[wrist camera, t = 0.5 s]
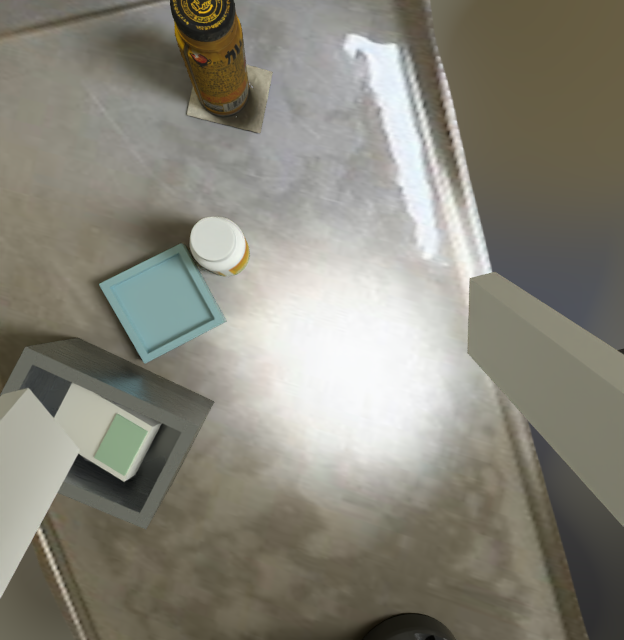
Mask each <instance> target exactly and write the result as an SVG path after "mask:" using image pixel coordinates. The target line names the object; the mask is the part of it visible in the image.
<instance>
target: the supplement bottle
mask: <svg viewBox="0 0 624 640" xmlns="http://www.w3.org/2000/svg"><path fill="white" fill-rule="evenodd" d="M190 250H191V253H192V255H193V257H194V258H195V260H196V261H197V262H198V263H199V264H200V265H201V266H202V267H204V268H206V269H208V270H210V271H212V272H213V273H215V274H218V275H221V276H233V275H236V274H238V273H240V272H241V271H242V270H243V269H244V268H245V267H246V266H247V264H248V261H249V257H250V250H249V246H248V243H247V241H246V239H245V237H244V235H243V233H242V231H241V230H240V228H239V227H238V226H237V225H236V224H235V223H234V222H232V221H231V220H229V219H227V218H224V217H206V218H203V219H201V220H200V221H198V222H197V223H196V224H195V225H194V227H193V229H192V231H191V235H190Z"/></svg>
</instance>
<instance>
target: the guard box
mask: <svg viewBox="0 0 624 640" xmlns="http://www.w3.org/2000/svg"><path fill="white" fill-rule="evenodd" d="M72 383H74V384H76V385H79V386H81V387H83V388H85V389H87V390H90V391H92V392H94V393H96V394H99V395H101V396H103V397H105V398H107V399H110V400H112V401H114V402H116V403H118V404H121V405H123V406H125V407H127V408H129V409H132V410H134V411H136V412H138V413H140V414H143V415H145V416H147V417H149V418H152V419H154V420H156V421H158V422H160V423H162V424H161V426H160V428H159V430H158V432H157V434H156V436H155V438H154V440H153V441H152V443H151V445H150V447H149V449H148V451H147V453H146V455H145V457H144V459H143V461H142V463H141V465H140V467H139V469H138V470H137V472H136V474H135V475H134V476H133V477H131V478H129V479H128V480H126V481H125V482H124V481H122V480H121V479H119V478H117V477H116V476H114V475H112V474H111V473H109V472H108V471H106V470H104V469H103V468H101V467H99V466H98V465H96V464H95V463H93V462H91V461H86V460H84V459H83V456H81V455H80V454H78V455H77V457H76V459H75V461H74V463H73V464H72V466H71V468H70V470H69V472H68V474H67V476H66V477H65V479H64V481H63V483H62V485H61V487H60V489H59V490H58V492H57V493H59V494H62V495H64V496H67V497H69V498H71V499H74V500H76V501H79V502H81V503H84V504H86V505H88V506H91V507H93V508H96V509H98V510H100V511H103V512H105V513H108V514H110V515H113V516H115V517H117V518H120V519H122V520H125V521H127V522H129V523H132V524H134V525H137V526H139V527H142V528H144V529H147V527H148V525H149V523H150V522H151V520H152V518H153V516H154V515H155V513H156V511H157V509H158V508H159V506H160V504H161V502H162V501H163V499H164V497H165V495H166V494H167V492H168V490H169V488H170V487H171V485H172V483H173V481H174V479H175V477H176V475H177V473H178V471H179V469H180V468H181V466H182V464H183V462H184V460H185V458H186V456H187V454H188V452H189V450H190V448H191V446H192V444H193V442H194V440H195V438H196V437H197V435H198V433H199V431H200V429H201V427H202V425H203V423H204V421H205V419H206V417H207V415H208V413H209V411H210V409H211V407H212V406H213V404H214V401H212V400H210V399H208V398H205V397H203V396H201V395H199V394H197V393H195V392H193V391H191V390H188V389H186V388H184V387H182V386H180V385H178V384H176V383H173V382H171V381H169V380H167V379H165V378H163V377H161V376H159V375H156V374H154V373H152V372H150V371H148V370H146V369H144V368H141V367H139V366H137V365H135V364H133V363H131V362H129V361H127V360H124V359H122V358H120V357H118V356H116V355H114V354H112V353H109V352H107V351H105V350H103V349H101V348H99V347H97V346H95V345H92V344H90V343H88V342H86V341H84V340H82V339H80V338H74V339H68V340H62V341H56V342H50V343H44V344H38V345H33V346H27V347H25V348H24V350H23V352H22V354H21V356H20V358H19V360H18V362H17V364H16V366H15V368H14V370H13V371H12V373H11V375H10V377H9V379H8V381H7V383H6V385H5V387H4V389H3V391H2V393H1V394H0V396H1V395H2V394H6V393H10V392H14V391H18V390H22V389H26V388H29V389H30V390H31V391H32V393H33V394H34V395H35V396H36V397H37V399H38V400H39V401H40V402H41V403H42V405H43V406H44V407H45V408H46V409H47V411H48V412H49V413H50V414H51V416H52V417H53V418H54V417H55V415H56V413H57V411H58V409H59V407H60V405H61V403H62V402H63V400H64V398H65V396H66V394H67V392H68V390H69V388H70V386H71V384H72Z"/></svg>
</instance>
